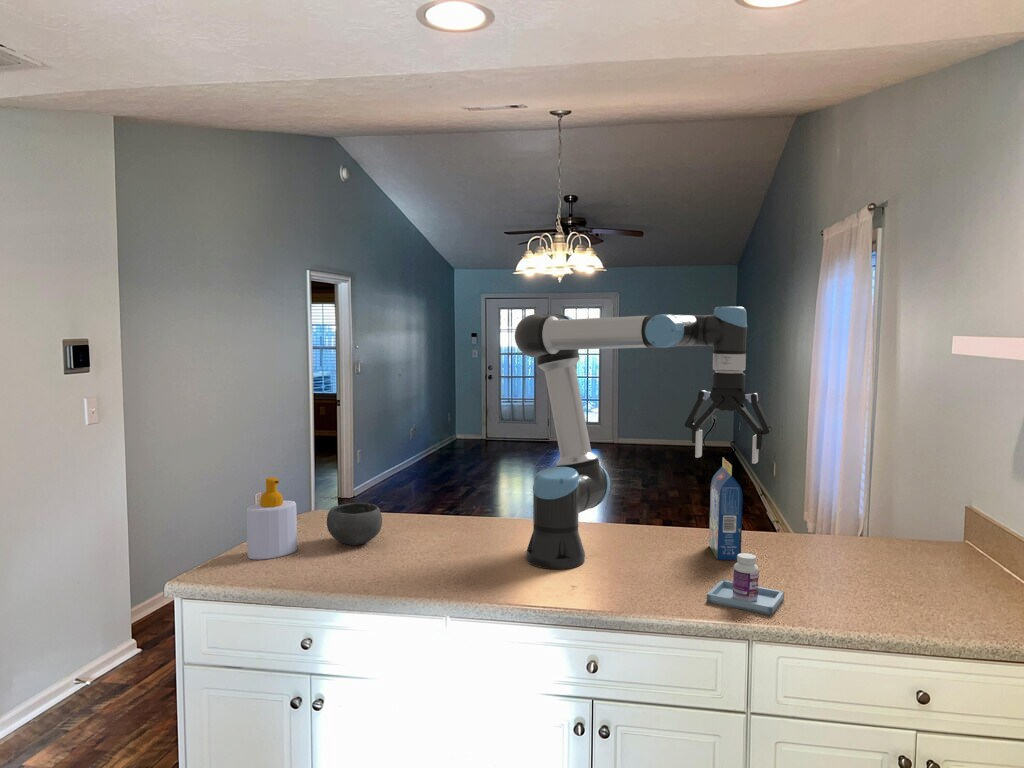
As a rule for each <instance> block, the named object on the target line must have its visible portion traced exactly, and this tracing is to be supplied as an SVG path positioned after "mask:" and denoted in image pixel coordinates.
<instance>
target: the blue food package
mask: <svg viewBox="0 0 1024 768" xmlns="http://www.w3.org/2000/svg"><path fill="white" fill-rule="evenodd" d="M732 472H733V465H732V464H731V463H730V462H729V461H727V459H725V457H722V466H721V467H720V468H719V469H718V470H717V471H716V472H715V474H714V475H713V477H712V478H711V483H710V494H709V495H710V496H709V498H710V503H709V505H710V506H709V533H708V536H709V537H708V546H709V548H710V550H711V551H712V554H713V555H714V557H715V558H716V559H717V560H720V561H737V555H738V554H740V553H742V535H743V534H742V528H743V501H744V500H743V499H744V498H743V490H742V487H741V485H740V484H739V483H738V481H737V480H736V479H735V478H734V476H732V475H733V473H732Z"/></svg>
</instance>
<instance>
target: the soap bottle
mask: <svg viewBox="0 0 1024 768" xmlns="http://www.w3.org/2000/svg"><path fill="white" fill-rule="evenodd" d="M278 484H280V481H279V479H278V478H277V477H274V476H273V477H267V478H265V488H266V489H265V491H264V492H263V493H262V494H261V496H260V499H259V502H260V503H256V504H253V505H250V506H249V507H247V508H246V538H247V539H246V541H247V542H246V543H247V557H248V559H251V560H258V561H259V560H269V559H270V560H271V559H276V558H281V557H285V556H287V555H288V556H289V555H290V554H293V553H296V551H297V550H298V530H297V529H298V525H297V524H298V523H297V520H298V519H297V516H298V515H297V514H298V513H297V503H296V501H295V500H284V497H283V495H282V493H281V492H279V491H278V489H277V487H278V486H277V485H278Z"/></svg>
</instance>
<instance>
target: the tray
mask: <svg viewBox="0 0 1024 768" xmlns="http://www.w3.org/2000/svg"><path fill="white" fill-rule="evenodd" d="M784 600H785V591H783V590H776V589H773V588H767V587H763V586H758V598H757V600H755V601H752V602H749V601H745V600H740V599H735V598H734V597H733V580H732V581H731V580H727V579H721V580H720V581H718V583H717V584H716V585H715V586H714V587H713V588H711V589H710V590H709V591H708V593H706V603H711V604H714V605H719V606H724V607H729V608H731V609H738V610H742V611H747V612H752V613H757V614H760V615H766V616H770V617H773V615H774V614H775V612H776V611H777V610H778V608H779V607H780V606H781V604H782V603H783V601H784Z"/></svg>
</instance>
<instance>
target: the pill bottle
mask: <svg viewBox="0 0 1024 768" xmlns="http://www.w3.org/2000/svg"><path fill="white" fill-rule="evenodd" d="M756 562H757V555H754V554H751V553H747V552H744V553H742V552H741V553H740V554H738V555H737V560H736V562H735V564H734V565H733V573H732V574H733V578H732V579H733V580H732V582H733V597H734V598H735V599H740V600H745V601H749V602H752V601H755V600H757V598H758V587H759V575H760V574H759V573H760V572H759V571H760V569H759V566H758V565H757V564H756Z"/></svg>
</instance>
